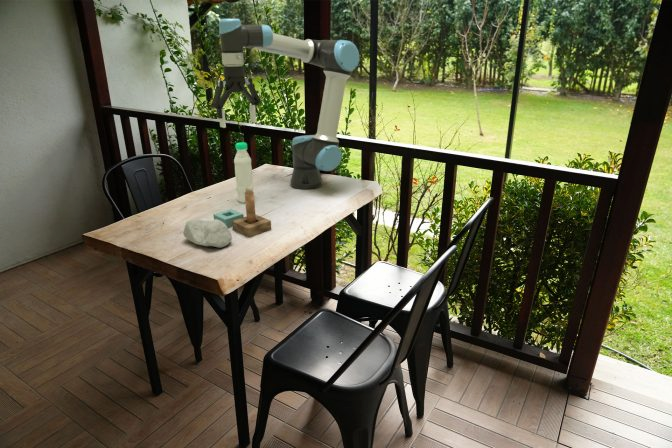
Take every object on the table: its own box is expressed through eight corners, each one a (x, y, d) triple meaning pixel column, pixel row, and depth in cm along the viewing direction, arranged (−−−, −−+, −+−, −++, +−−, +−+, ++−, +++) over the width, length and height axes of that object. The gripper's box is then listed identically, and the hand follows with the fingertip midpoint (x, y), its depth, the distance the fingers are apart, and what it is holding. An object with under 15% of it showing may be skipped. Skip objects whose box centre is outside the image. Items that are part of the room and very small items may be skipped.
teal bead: (232, 217, 183) (231, 208, 182) (244, 222, 178) (243, 213, 176) (214, 222, 178) (213, 214, 176) (225, 228, 173) (225, 219, 171)
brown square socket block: (255, 222, 178) (254, 213, 176) (271, 229, 171) (270, 220, 170) (232, 229, 171) (231, 221, 170) (248, 237, 165) (248, 228, 163)
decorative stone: (239, 233, 162) (225, 216, 154) (226, 257, 157) (211, 241, 150) (201, 228, 170) (186, 211, 162) (188, 251, 165) (171, 235, 157)
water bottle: (250, 203, 197) (246, 145, 187) (235, 202, 198) (229, 144, 189) (256, 198, 203) (252, 141, 194) (241, 197, 205) (236, 140, 195)
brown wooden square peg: (253, 227, 173) (249, 186, 167) (258, 229, 171) (255, 188, 165) (246, 229, 171) (242, 188, 165) (251, 232, 169) (247, 190, 163)
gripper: (208, 67, 157) (215, 130, 166) (267, 64, 174) (271, 121, 182) (196, 66, 162) (204, 128, 171) (255, 63, 179) (259, 119, 187)
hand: (238, 124), depth 176 cm, fingers open, 13 cm apart
